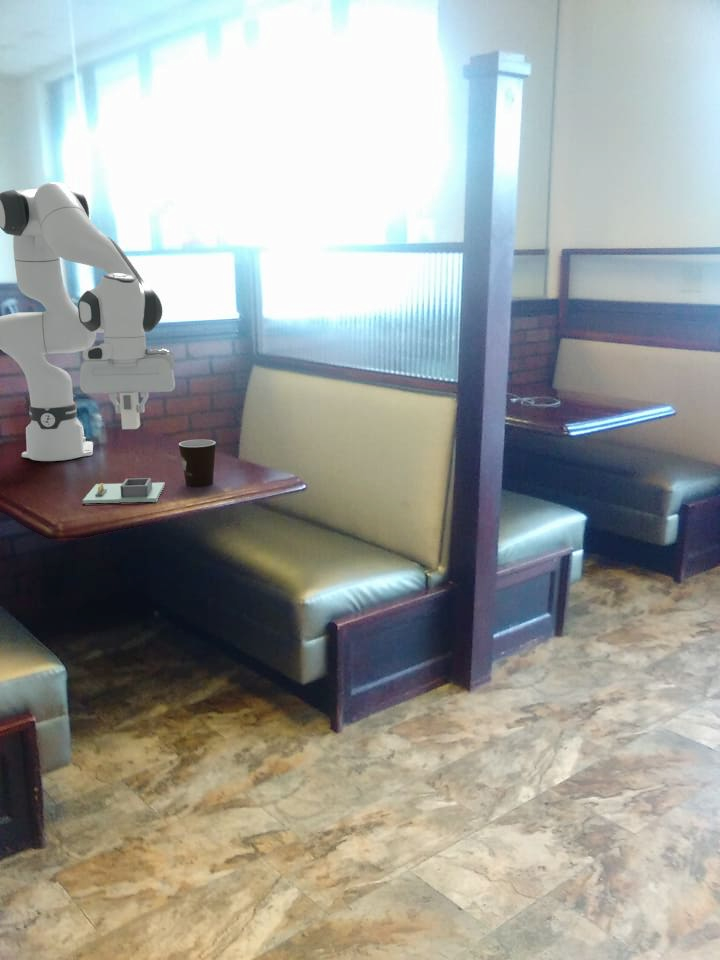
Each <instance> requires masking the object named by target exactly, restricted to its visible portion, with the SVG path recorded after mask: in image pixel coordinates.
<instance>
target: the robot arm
mask: <svg viewBox="0 0 720 960" xmlns="http://www.w3.org/2000/svg"><path fill="white" fill-rule="evenodd" d="M89 210H90V209H89V205H88V201H87V199H86V197H85V195H84V194H83V192H81V190H79V189H75V188H69V186H67V185H66V184H64V183H61V182H58V181H51V182H46V183H44V184H42V185H40V186H39V187H38V188H29V189H28V188H26V189H19V190H15V189H9V190H6V191H2V192H0V229H1V230H2V231H3V232H4V233H5V234H6V235H11V236H13V242H12V244H13V258H14V259H13V260H14V267H15V275H16V283H17V288H18V289H19V291H20V292H21V293H22V294H23V295H24V296H26V297H28V298H29V299H32V300H34V301H36V302H39V303H40V304H41V305H42V306H43V307H44V309H45V311H37V312H36V311H31V312H30V311H29V312H28V311H27V312H25V311H24V312H14V313H9V314H5V315H1V316H0V350H1V351H2V352H3V353H5V354H6V355H8V356H9V357H11V358H12V359H13V360H14V361H15V362H16V363H17V364H18V366H19V367H20V369H21V370H22V372H23V374H24V375H25V380H26V382H27V383H26V384H27V388H28V392H29V394H28V395H29V401H30V405H29V419H30V420H31V421H30V423H29V424H28V425H27V426H26V427H25V440H26V451H23V452H22V453H21V457H22V458H26V459H30V460H32V461H39V462H56V461H67V460H73V459H74V460H75V459H78V458H81V457H82V458H83V457H91V456H92V455H93V451H94V443H93V441H89V440H88V439H87V437H86V436H85V430H84V426H83V424H82V423H81V421H80V420H79V418H78V417H77V416H78V409H77V403H76V402H74V393H73V392H74V391H73V380H72V377H71V375H70V374H69V373H68V371H66V370H64V369H63V368H60V367H58V366H56V365H53V364H51V363H50V362H48V360H47V358H46V355H48V354H50V355H51V354H73V353H79V352H82V358H83V359H84V361H83V362H82V363H81V365H80V370H79V371H80V372H79V387H80V390H81V392H82V393H83V394H108V398H109V400H110V401H111V403H112V404H113V406H114V408H115V411H114V412H115V414H121V407H120V402H119V401H118V399H117V397H118V394H119V393H128V392H138V393H140V397H141V398H142V400H141V402H140V403H139V404H137V405H136V406H137V413H139V414H141V413H142V414H143V413H145V411H146V410H145V409H146V408H145V404H146V402H147V401H148V399H149V395H150V394H149V393H166V392H167V393H169V392H172V391H173V390H174V389H175V388H176V379H175V374H174V368H175V365H176V364H175V363H176V361H175V356H174V353H173V352H171V351H169V350H167V349H166V348H165V349H164V348H162V349H155V348H152V349H150V348H149V349H147V338H146V337H147V336H146V333H149V332H151V331H152V330H154V329H155V328H156V327H157V326H158V324H160V323H159V322H161V320H162V317H163V305H162V302H161V300H160V298H159V296H158V295H157V293H156V292H155V291H154V290H153V289H152V288H151V287H150V286H149V285H148V284H147V283H146V282H145V280H143V278H142V277H141V275H140V274H139V272H138V271H137V270H136V268H135V267H134V265H133V264H132V262H131V261H130V260H129V258H128V257H127V256H126V254H125V252H124V251H123V249H122V248H121V247H120V246H119V245H118V244H117V242H116V241H115V240H113V239H112V238H110V237H108V236H107V235H105V233H103V232H102V231H101V230H100V229H99V228H97V226H96V225H95V224H94V223H92V221H91V220H90V211H89ZM61 259H63V260H66V262H67V261H68V262H72V263H76V264H81V265H85V266H89V267H93V268H96V269H100V270H102V271H104V272H105V273H106V274H104V275H102V276H101V279H100V282H99V284H98V285H97V286H96V287H94V288H92V289H89V290H86V291H85V292H84V293H83V294H81V297H80V298H79V300H78V303H77V305H75V303H74V302H73V301H72V300H71V298H70V296H69V294H68V292H67V291H66V288H65V284H64V280H63V279H64V278H63V275H62V266H61ZM97 333H98V334H100V333H102V334H103V343H97V344H95V341H96V339H97ZM94 344H95V345H94Z"/></svg>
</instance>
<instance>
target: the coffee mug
mask: <svg viewBox="0 0 720 960" xmlns="http://www.w3.org/2000/svg"><path fill="white" fill-rule="evenodd" d="M216 445H217V444H216V441H214V440H212V439H189V440H184V441H181V442H179V443H178V446H179V453H180V457H181V458H180V459H181V464H182V469H183V475H184V480H185V485H186V487H189V486H190V487H189V488H205V487H210V486H212V485H213V484H214V472H215V457H216Z"/></svg>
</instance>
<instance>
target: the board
mask: <svg viewBox="0 0 720 960" xmlns="http://www.w3.org/2000/svg"><path fill="white" fill-rule="evenodd" d="M152 480H153V479H152V477H148V478H147V477H146V478H145V477H144V478H143V477H140V478H125V479H124V481H123V482H121V483H102V482H101V483H96V484H95V485H94V486H93V487H92V489H91V490H90V491H89V492H88V493H87V494H86V496H85V497H84V498H83V499H82V504H83V503H112V502H113V503H119V502H153V503H154V502H156V503H157V502H158V500H159V499H158V498H160V497H159V496H161V495H160V494H162V493H163V491H164V489H165V487H166V482H163V481H162V482H153V481H152ZM164 486H165V487H164ZM163 488H164V489H163ZM162 490H163V491H162ZM161 492H162V493H161ZM153 503H152V504H153Z"/></svg>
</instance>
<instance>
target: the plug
mask: <svg viewBox="0 0 720 960" xmlns="http://www.w3.org/2000/svg"><path fill="white" fill-rule="evenodd" d="M118 394H119V404H120V407H121V413H120V418H121V419H120V420H121V430H137V429H138V428H140V426H141V418H140V417H141V416H140V415H141V413H137V406H136V405H137V404H140V403H139V401H140V400H139V392H128V393H118Z"/></svg>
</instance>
